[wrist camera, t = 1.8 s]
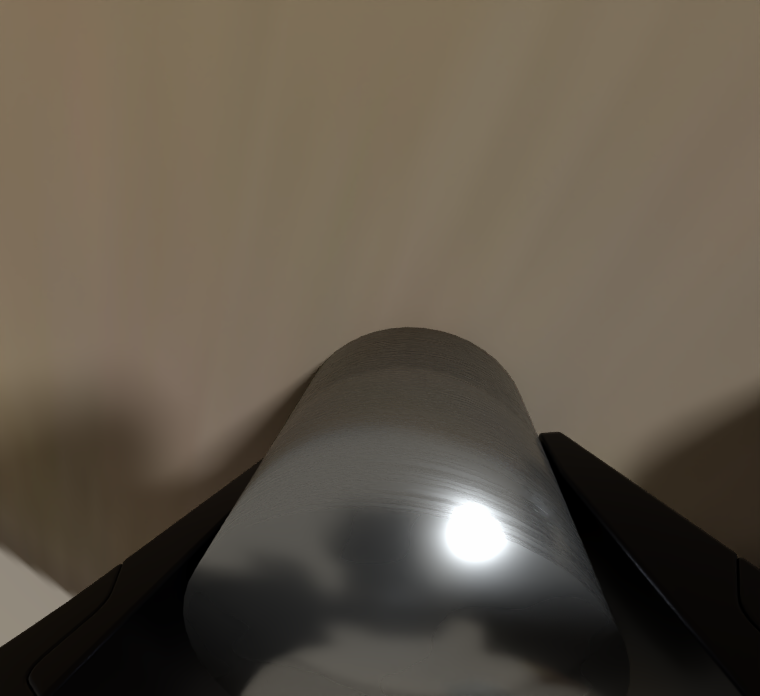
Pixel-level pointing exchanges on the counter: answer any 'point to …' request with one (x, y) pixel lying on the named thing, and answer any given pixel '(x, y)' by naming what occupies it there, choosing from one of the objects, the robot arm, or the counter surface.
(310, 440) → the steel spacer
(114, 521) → the counter surface
